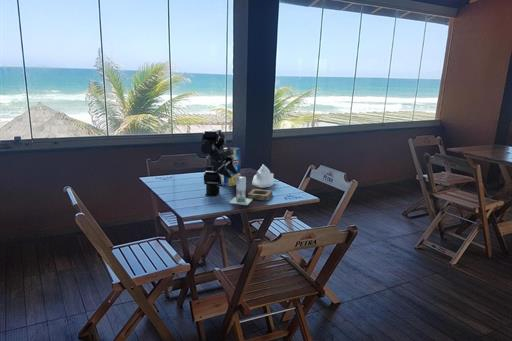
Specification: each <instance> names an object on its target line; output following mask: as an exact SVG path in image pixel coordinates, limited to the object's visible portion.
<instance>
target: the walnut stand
mask: <svg viewBox="0 0 512 341" xmlns="http://www.w3.org/2000/svg"><path fill="white" fill-rule="evenodd" d="M272 196H273V190H268V189H267V190H266V189H259V188H258V189H257V188H252V190H251V191H250V192H248V193H247V198H248V199H253V200H257V201H258V200H259V201H269V200H270V199H271V198H272Z"/></svg>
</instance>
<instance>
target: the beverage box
mask: <svg viewBox="0 0 512 341" xmlns="http://www.w3.org/2000/svg"><path fill="white" fill-rule="evenodd" d="M227 148H228V147H224V149H223V150H222V152H224V151H226V149H227ZM230 148H231V149H233V150H234V151H233V153H234V154H233V155H231V156H232V157H233V158H234V161H233V165H234V167H235V169H236V171H237V174H234V173H233V172H231V171H229V170H228V169H227V170H228V172H229V173H230V175H231V176H232V177H231V178H228V177H226V176H224V175H221V174H220V176H221V184H220V185H221V186H222V187H228V186H229V187H231V186H232V187H233V186H236V177H239V176H241V166H242V163H241V162H242V160H241V156H242V153H241V150H242V148H239V147H237V146H236V147H230Z"/></svg>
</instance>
